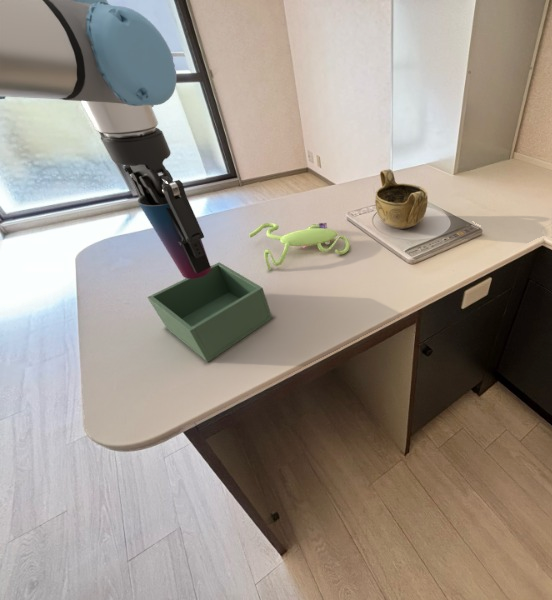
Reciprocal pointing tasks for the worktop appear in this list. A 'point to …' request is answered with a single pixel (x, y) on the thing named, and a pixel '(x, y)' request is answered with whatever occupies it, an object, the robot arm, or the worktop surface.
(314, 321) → the worktop surface
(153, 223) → the cup
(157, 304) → the bin
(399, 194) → the ceramic bowl
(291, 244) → the figurine
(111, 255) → the worktop surface
